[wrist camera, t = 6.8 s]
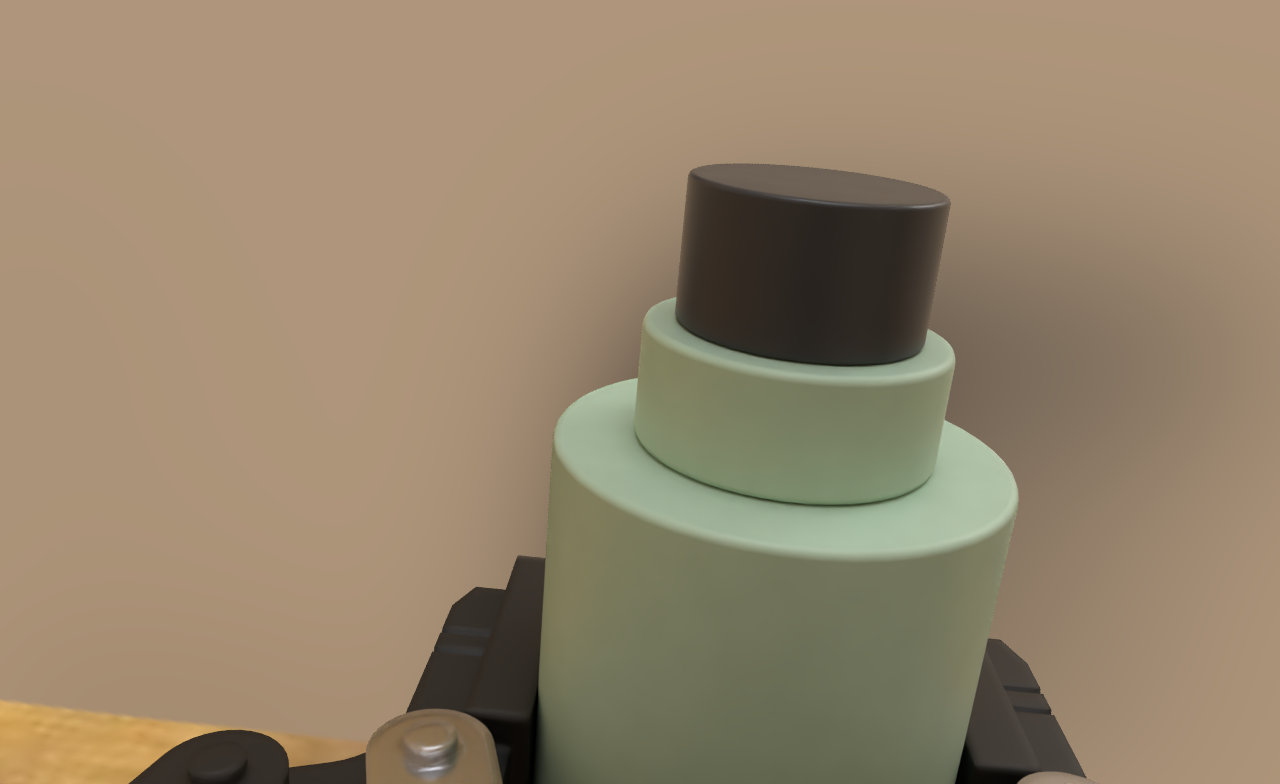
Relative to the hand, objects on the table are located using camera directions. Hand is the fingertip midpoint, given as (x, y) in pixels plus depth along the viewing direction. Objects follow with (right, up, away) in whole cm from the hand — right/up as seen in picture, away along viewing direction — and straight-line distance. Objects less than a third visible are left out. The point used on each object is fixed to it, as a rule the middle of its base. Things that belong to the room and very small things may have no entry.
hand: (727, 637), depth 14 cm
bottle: (-1, -6, -1) cm, 7 cm away
